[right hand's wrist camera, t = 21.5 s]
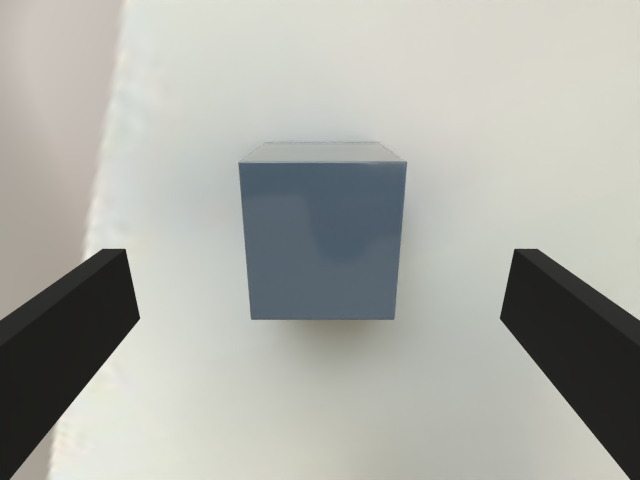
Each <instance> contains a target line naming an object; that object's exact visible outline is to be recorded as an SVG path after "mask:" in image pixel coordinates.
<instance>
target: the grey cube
mask: <svg viewBox="0 0 640 480" xmlns="http://www.w3.org/2000/svg"><path fill="white" fill-rule="evenodd" d="M406 169H407V162H406V161H405V160H403V159H402V158H401V157H399V156H398V155H396V154H395V153H393V152H392V151H391V150H389V149H388V148H386V147H385V146H383V145H382V144H381V143H379V142H340V143H264V144H263V145H261V146H260V147H259V148H257V149H256V150H255V151H253V152H252V153H250V154H249V155H248V156H246V157H245V158H244V159H242V160H241V161H240V162H239V175H240V188H241V200H242V213H243V225H244V238H245V250H246V263H247V275H248V288H249V300H250V313H251V319H252V320H394V317H395V305H396V292H397V280H398V268H399V255H400V243H401V231H402V218H403V206H404V194H405V182H406Z"/></svg>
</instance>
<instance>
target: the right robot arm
mask: <svg viewBox="0 0 640 480" xmlns="http://www.w3.org/2000/svg"><path fill="white" fill-rule="evenodd" d="M139 319H140V316H139V311H138V306H137V301H136V297H135V292H134V287H133V282H132V278H131V273H130V268H129V263H128V259H127V254H126V249H102V250H100V251H99V252H98V253H96V254H95V255H93V256H92V257H90V258H89V259H88V260H86V261H85V262H83V263H82V264H80V265H79V266H78V267H76V268H75V269H73V270H72V271H71V272H69V273H68V274H66V275H65V276H63V277H62V278H61V279H59V280H58V281H56V282H55V283H53V284H52V285H51V286H49V287H48V288H46V289H45V290H43V291H42V292H41V293H39V294H38V295H36V296H35V297H33V298H32V299H31V300H29V301H28V302H26V303H25V304H23V305H22V306H21V307H19V308H18V309H16V310H15V311H13V312H12V313H11V314H9V315H8V316H6V317H5V318H3V319H2V320H1V321H0V480H10V478H11V477H12V476H13V475H14V473H15V472H16V471H17V470H18V469H19V467H20V466H21V465H22V464H23V462H24V461H25V460H26V459H27V457H28V456H29V455H30V454H31V453H32V451H33V450H34V449H35V448H36V446H37V445H38V444H39V443H40V441H41V440H42V439H43V438H44V436H45V435H46V434H47V433H48V432H49V430H50V429H51V428H52V427H53V425H54V424H55V423H56V422H57V420H58V419H59V418H60V417H61V416H62V414H63V413H64V412H65V411H66V409H67V408H68V407H69V406H70V404H71V403H72V402H73V401H74V400H75V398H76V397H77V396H78V395H79V393H80V392H81V391H82V390H83V388H84V387H85V386H86V385H87V383H88V382H89V381H90V380H91V379H92V377H93V376H94V375H95V374H96V372H97V371H98V370H99V369H100V367H101V366H102V365H103V364H104V363H105V361H106V360H107V359H108V358H109V356H110V355H111V354H112V353H113V351H114V350H115V349H116V348H117V346H118V345H119V344H120V343H121V342H122V340H123V339H124V338H125V337H126V335H127V334H128V333H129V332H130V330H131V329H132V328H133V327H134V326H135V324H136V323H137V322H138V321H139ZM500 319H501V321H502V322H503V323H504V324H505V326H506V327H507V328H508V329H509V330H510V332H511V333H512V334H513V335H514V337H515V338H516V339H517V340H518V342H519V343H520V344H521V345H522V346H523V348H524V349H525V350H526V351H527V353H528V354H529V355H530V356H531V358H532V359H533V360H534V361H535V363H536V364H537V365H538V366H539V367H540V369H541V370H542V371H543V372H544V374H545V375H546V376H547V377H548V379H549V380H550V381H551V382H552V383H553V385H554V386H555V387H556V388H557V390H558V391H559V392H560V393H561V395H562V396H563V397H564V398H565V400H566V401H567V402H568V403H569V404H570V406H571V407H572V408H573V409H574V411H575V412H576V413H577V414H578V416H579V417H580V418H581V419H582V420H583V422H584V423H585V424H586V425H587V427H588V428H589V429H590V430H591V432H592V433H593V434H594V435H595V437H596V438H597V439H598V440H599V441H600V443H601V444H602V445H603V446H604V448H605V449H606V450H607V451H608V453H609V454H610V455H611V456H612V457H613V459H614V460H615V461H616V462H617V464H618V465H619V466H620V467H621V469H622V470H623V471H624V472H625V474H626V475H627V476H628V477H629V478H630V480H640V321H639V320H638V319H637V318H635V317H634V316H632V315H631V314H629V313H628V312H627V311H625V310H624V309H622V308H621V307H619V306H618V305H617V304H615V303H614V302H612V301H611V300H609V299H608V298H607V297H605V296H604V295H602V294H601V293H599V292H598V291H597V290H595V289H594V288H592V287H591V286H589V285H588V284H587V283H585V282H584V281H582V280H581V279H579V278H578V277H577V276H575V275H574V274H572V273H571V272H570V271H568V270H567V269H565V268H564V267H562V266H561V265H560V264H558V263H557V262H555V261H554V260H552V259H551V258H550V257H548V256H547V255H545V254H544V253H542V252H541V251H540V250H538V249H514V254H513V259H512V263H511V268H510V273H509V278H508V282H507V287H506V292H505V297H504V301H503V306H502V311H501V316H500Z"/></svg>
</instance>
